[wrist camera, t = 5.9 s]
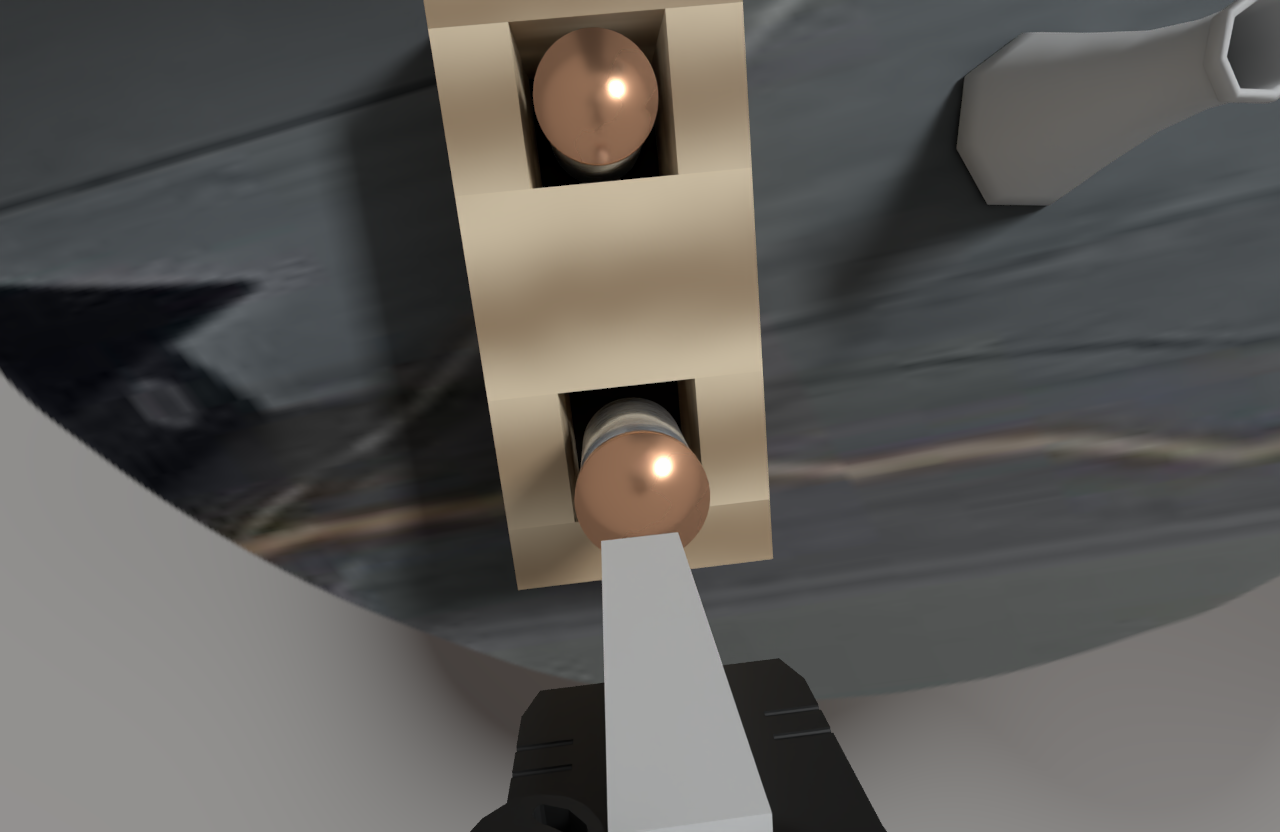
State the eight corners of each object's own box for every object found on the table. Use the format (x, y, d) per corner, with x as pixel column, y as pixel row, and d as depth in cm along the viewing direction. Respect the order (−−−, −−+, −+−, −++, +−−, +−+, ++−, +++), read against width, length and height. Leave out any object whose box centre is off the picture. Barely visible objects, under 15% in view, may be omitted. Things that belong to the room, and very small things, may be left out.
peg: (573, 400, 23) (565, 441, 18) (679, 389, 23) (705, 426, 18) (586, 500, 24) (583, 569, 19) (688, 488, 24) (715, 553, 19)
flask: (968, 231, 28) (1164, 210, 18) (936, 62, 26) (1134, -60, 17) (1120, 180, 28) (1399, 132, 18) (1099, 7, 26) (1394, -147, 17)
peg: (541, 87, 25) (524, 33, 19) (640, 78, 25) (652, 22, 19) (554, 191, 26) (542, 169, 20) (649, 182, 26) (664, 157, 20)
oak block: (457, 16, 25) (413, -63, 19) (705, -5, 25) (737, -89, 19) (533, 527, 30) (518, 590, 24) (738, 503, 30) (772, 558, 24)
